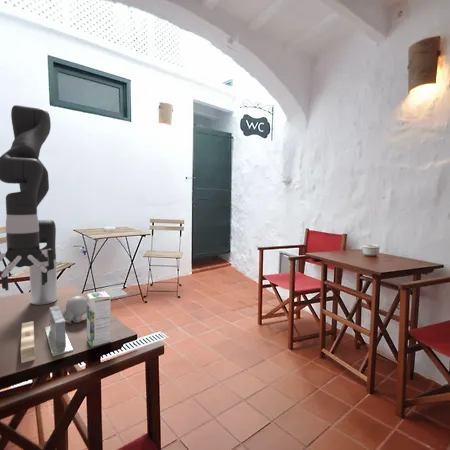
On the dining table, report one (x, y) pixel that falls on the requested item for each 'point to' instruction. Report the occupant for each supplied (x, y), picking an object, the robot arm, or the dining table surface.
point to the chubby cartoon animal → (75, 309)
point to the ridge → (57, 333)
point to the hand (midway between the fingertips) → (25, 287)
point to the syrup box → (98, 318)
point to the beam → (27, 342)
